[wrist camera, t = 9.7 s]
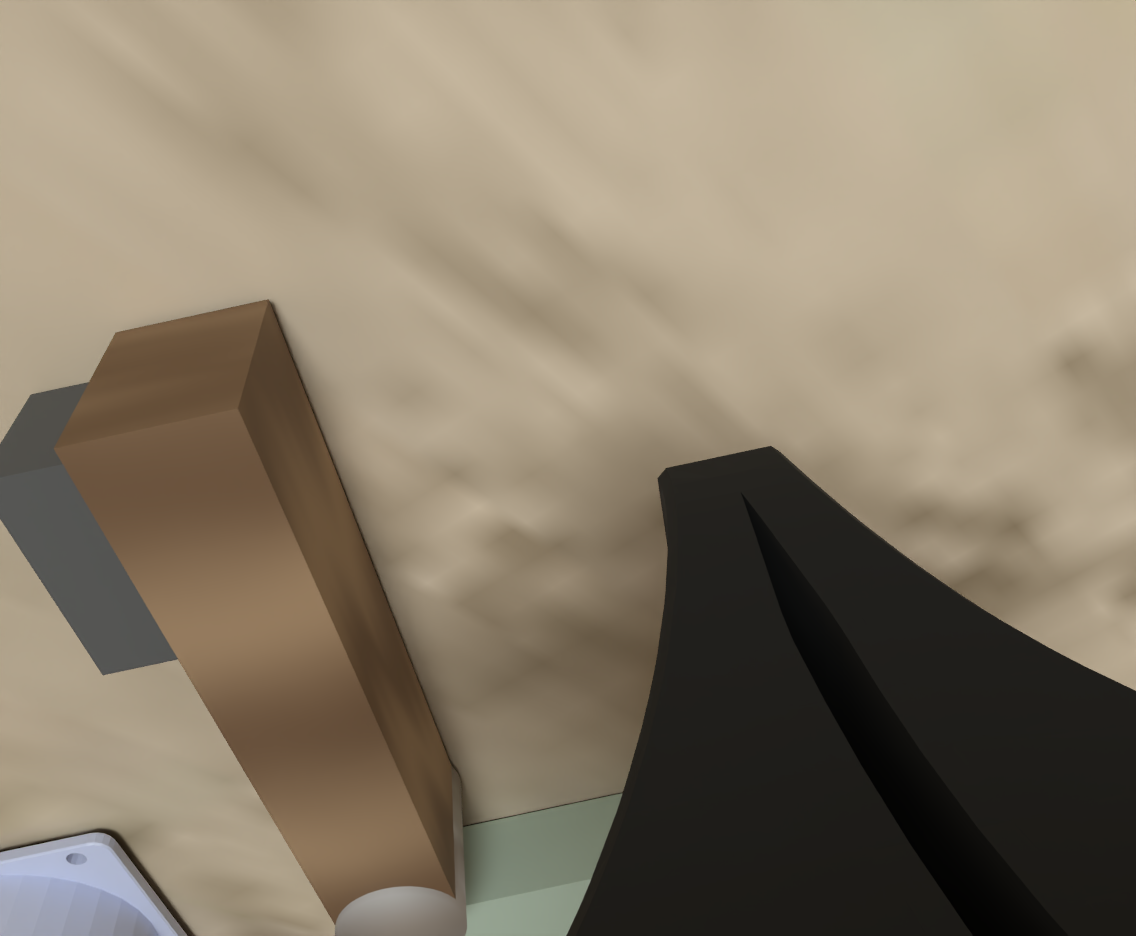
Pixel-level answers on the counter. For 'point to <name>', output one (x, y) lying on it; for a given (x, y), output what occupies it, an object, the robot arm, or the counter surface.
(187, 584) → the folding leg
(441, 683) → the counter surface
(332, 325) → the counter surface
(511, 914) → the stool seat
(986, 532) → the counter surface
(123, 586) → the leg stop
